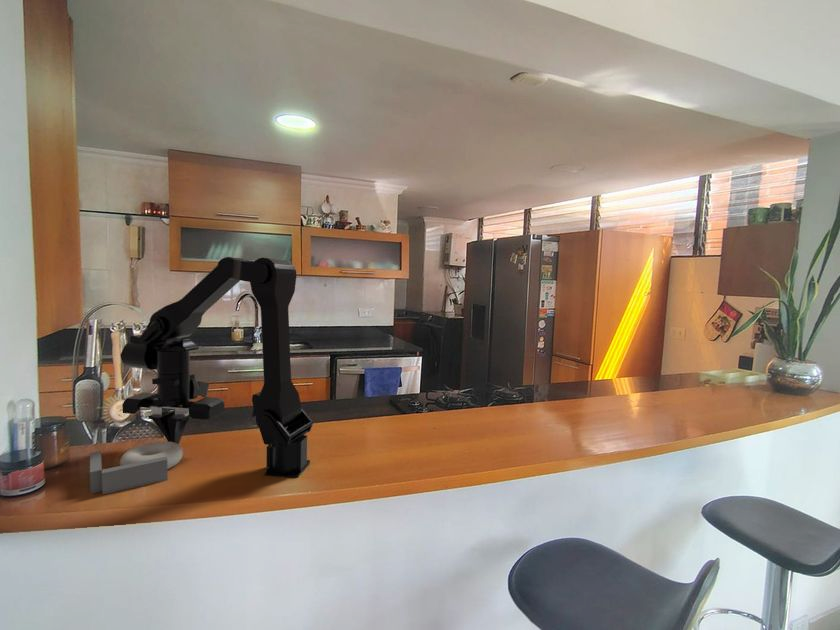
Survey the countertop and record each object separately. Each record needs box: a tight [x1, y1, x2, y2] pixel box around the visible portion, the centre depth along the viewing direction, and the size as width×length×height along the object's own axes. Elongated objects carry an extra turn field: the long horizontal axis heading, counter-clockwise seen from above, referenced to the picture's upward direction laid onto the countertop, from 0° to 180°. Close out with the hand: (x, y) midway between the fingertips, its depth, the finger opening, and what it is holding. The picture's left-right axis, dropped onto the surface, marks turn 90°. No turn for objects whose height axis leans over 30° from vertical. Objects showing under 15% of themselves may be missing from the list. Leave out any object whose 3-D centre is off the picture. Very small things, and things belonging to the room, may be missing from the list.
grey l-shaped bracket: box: [89, 450, 169, 495], centre depth 69 cm, size 15×7×4 cm, turn 84°
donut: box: [119, 440, 184, 470], centre depth 76 cm, size 10×4×10 cm
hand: (175, 445), depth 83 cm, fingers closed
